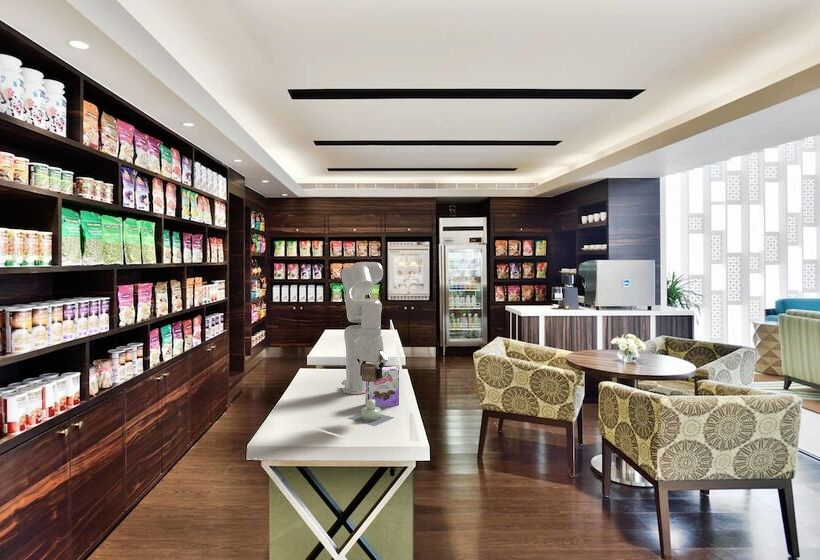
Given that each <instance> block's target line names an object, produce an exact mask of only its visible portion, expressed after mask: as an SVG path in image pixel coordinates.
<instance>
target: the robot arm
mask: <svg viewBox="0 0 820 560" xmlns="http://www.w3.org/2000/svg"><path fill="white" fill-rule="evenodd" d="M340 276H341V281H342V285H343V288H344V290H345V299H344V302H345V308H346V309H345V310H346V317H347V321H348V322H350V323H361V324H357V325H355V324H354V325H350V326H347V327H345V328H344V331H343V336H344V344H345V368H346V369H345V379H343V380H342V381H341V383H340V384H341V385H343V386H344V387H343V388H342V392H343V393H345V394H348V395H361V394H365V391H366V382H365V381H362V364H365V363H375V365H376V367H377V369H376V379H380V378H382V368H383V367H386V364H387V362H388V361H389V359H388V357H387V356H386V354H384V353H385V352H384V341H383V336H382V328H381V327H382V325H381V323H382V322H381V321H382V318H381V317H382V315H381V314H382V311H383V310H382V309H383V305H382V302H381V301H380V299H378V298H365V296H367V295H369V294H370V293H371V292H372V290H373V288H374V284H378V283H379V282H381V280H382V279H383V276H384V269H383V266H382V265H381V263H380V262H376V261H360V262H355V263H353V264H352V265H349V266H345V267H343V268H342V269H341V275H340Z"/></svg>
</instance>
